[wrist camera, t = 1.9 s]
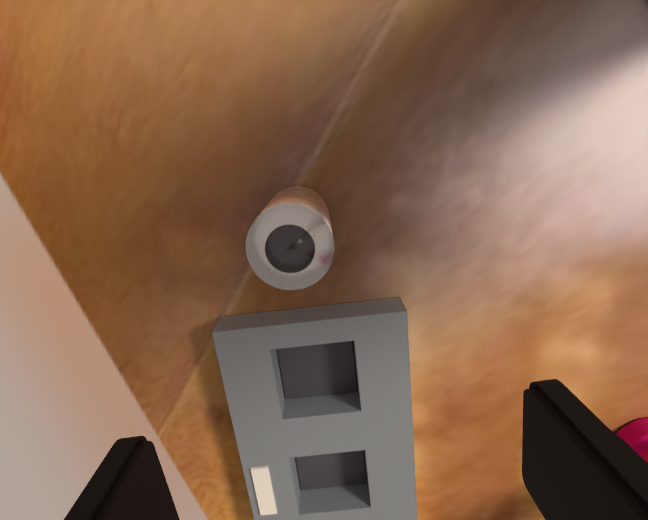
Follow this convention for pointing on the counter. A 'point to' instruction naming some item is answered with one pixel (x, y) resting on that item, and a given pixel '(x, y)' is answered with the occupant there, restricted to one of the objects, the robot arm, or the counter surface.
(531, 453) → the robot arm
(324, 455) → the block
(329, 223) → the bushing
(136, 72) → the counter surface
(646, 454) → the pepper mill
